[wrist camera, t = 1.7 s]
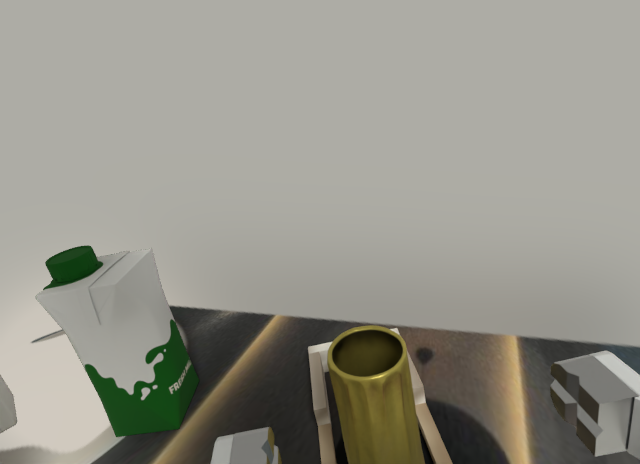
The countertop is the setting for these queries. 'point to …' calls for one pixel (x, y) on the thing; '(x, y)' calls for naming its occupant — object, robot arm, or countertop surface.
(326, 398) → the frame
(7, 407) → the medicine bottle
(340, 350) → the vase
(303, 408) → the countertop surface
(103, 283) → the milk carton
